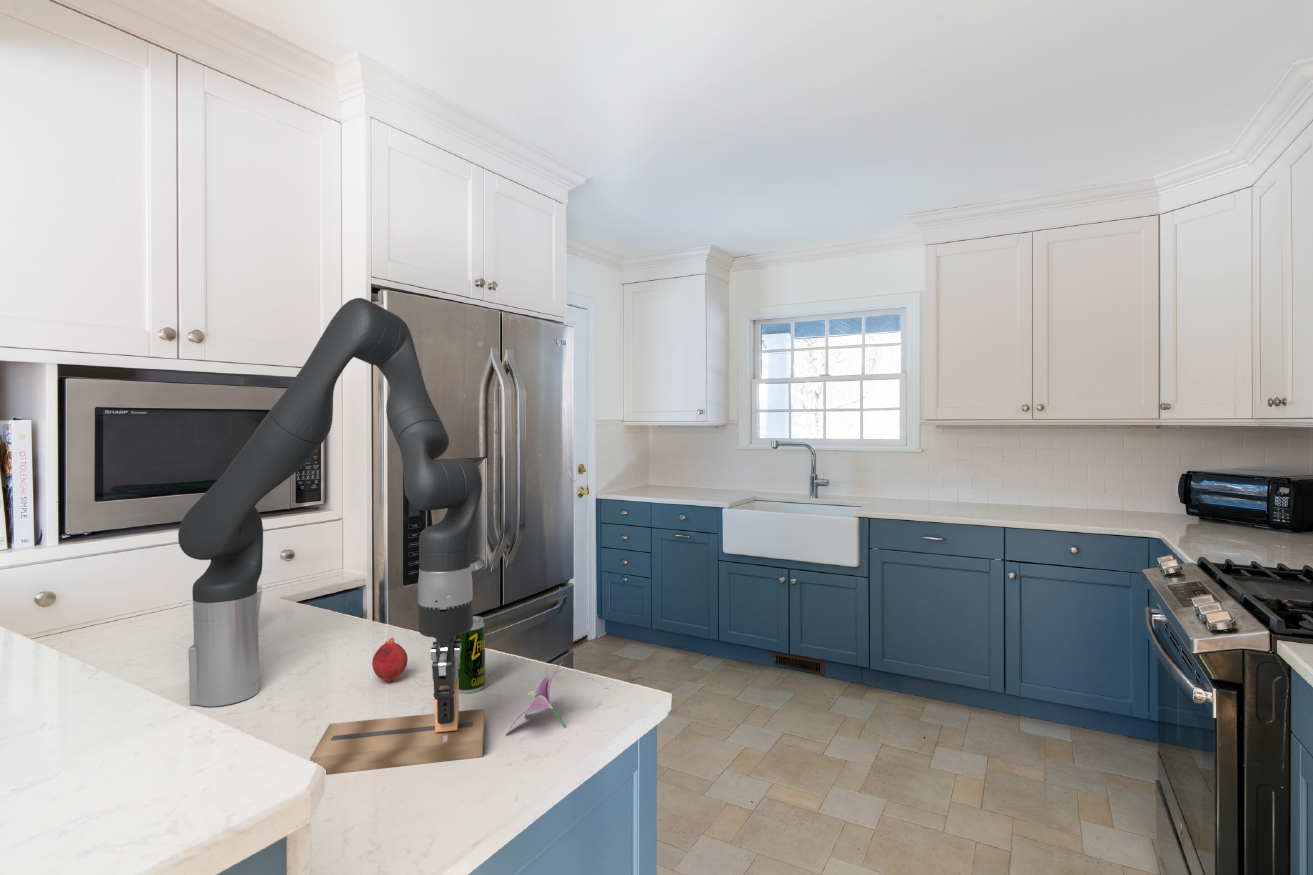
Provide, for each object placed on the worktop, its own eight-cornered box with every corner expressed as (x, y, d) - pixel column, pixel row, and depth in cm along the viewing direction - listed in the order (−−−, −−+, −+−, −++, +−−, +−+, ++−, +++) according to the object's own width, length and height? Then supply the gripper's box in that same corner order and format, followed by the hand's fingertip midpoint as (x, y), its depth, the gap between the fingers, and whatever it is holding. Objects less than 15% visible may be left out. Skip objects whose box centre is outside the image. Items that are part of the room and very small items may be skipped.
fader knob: (435, 732, 95) (434, 690, 94) (437, 719, 99) (437, 679, 98) (457, 729, 95) (456, 688, 95) (459, 717, 99) (458, 677, 99)
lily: (559, 709, 111) (529, 660, 110) (605, 699, 104) (574, 646, 103) (510, 761, 101) (477, 707, 101) (557, 754, 94) (522, 697, 94)
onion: (395, 689, 116) (394, 644, 116) (365, 687, 117) (364, 642, 117) (413, 677, 122) (413, 633, 122) (385, 674, 123) (384, 631, 123)
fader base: (310, 776, 88) (310, 756, 88) (329, 740, 98) (329, 722, 98) (482, 756, 93) (482, 738, 93) (484, 724, 103) (484, 707, 103)
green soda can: (447, 692, 115) (446, 623, 115) (465, 680, 120) (464, 614, 120) (474, 696, 114) (473, 626, 113) (491, 683, 119) (490, 616, 118)
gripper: (424, 587, 102) (425, 697, 103) (411, 613, 89) (413, 741, 89) (474, 584, 104) (476, 693, 105) (470, 610, 90) (471, 735, 91)
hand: (447, 714), depth 97 cm, fingers closed on fader knob, 4 cm apart
